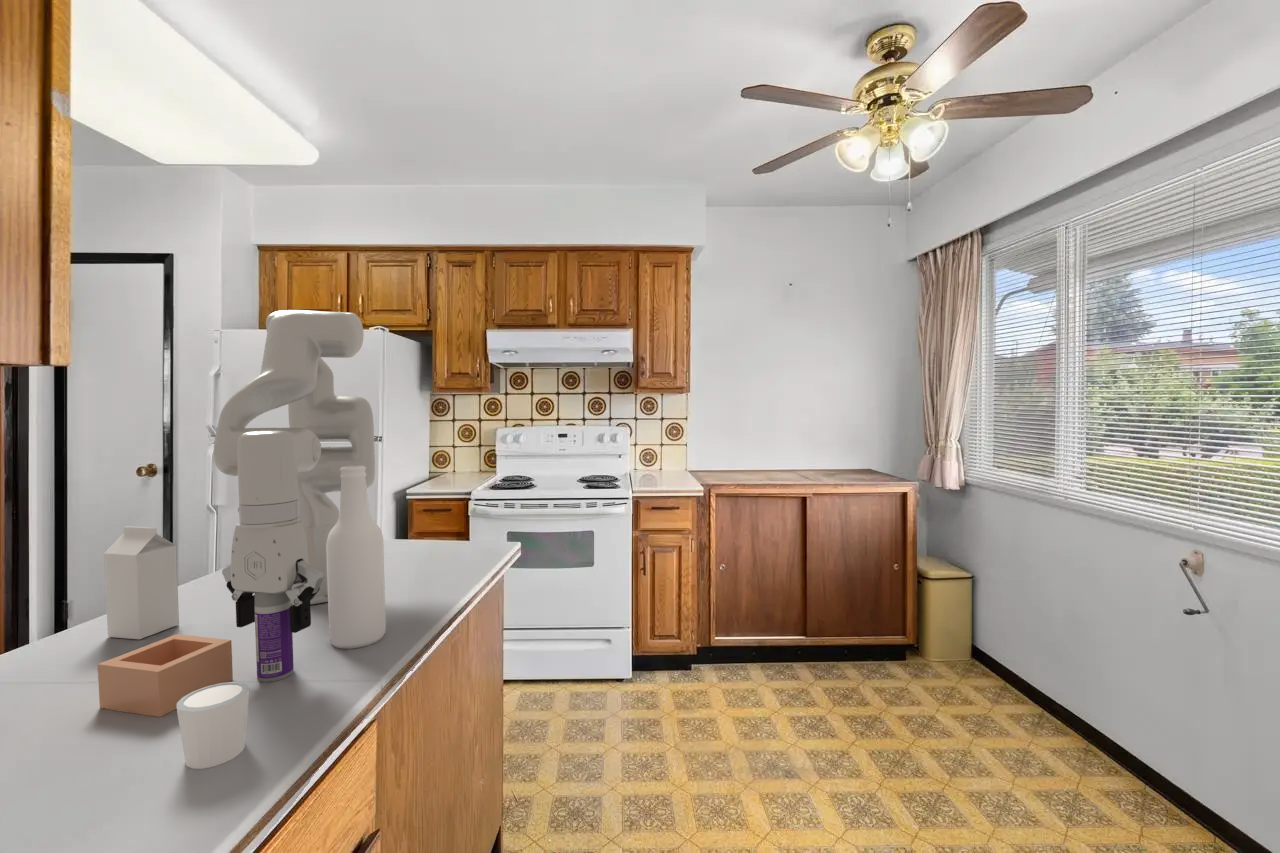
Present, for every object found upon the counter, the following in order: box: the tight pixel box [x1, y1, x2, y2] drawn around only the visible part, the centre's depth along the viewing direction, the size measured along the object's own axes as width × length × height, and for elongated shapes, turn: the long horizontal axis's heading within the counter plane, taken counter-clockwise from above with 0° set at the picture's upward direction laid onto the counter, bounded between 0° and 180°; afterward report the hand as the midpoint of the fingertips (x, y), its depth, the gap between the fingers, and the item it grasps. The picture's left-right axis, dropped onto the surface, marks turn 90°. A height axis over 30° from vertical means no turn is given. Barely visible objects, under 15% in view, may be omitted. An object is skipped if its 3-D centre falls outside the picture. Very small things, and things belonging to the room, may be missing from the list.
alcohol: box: [326, 466, 387, 650], centre depth 100 cm, size 9×9×30 cm
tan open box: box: [97, 633, 234, 718], centre depth 82 cm, size 10×10×6 cm
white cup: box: [176, 681, 250, 770], centre depth 67 cm, size 7×7×7 cm
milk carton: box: [103, 526, 180, 640], centre depth 105 cm, size 7×7×19 cm
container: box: [254, 593, 295, 683], centre depth 87 cm, size 5×5×15 cm
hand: (273, 626), depth 87 cm, fingers open, 9 cm apart
